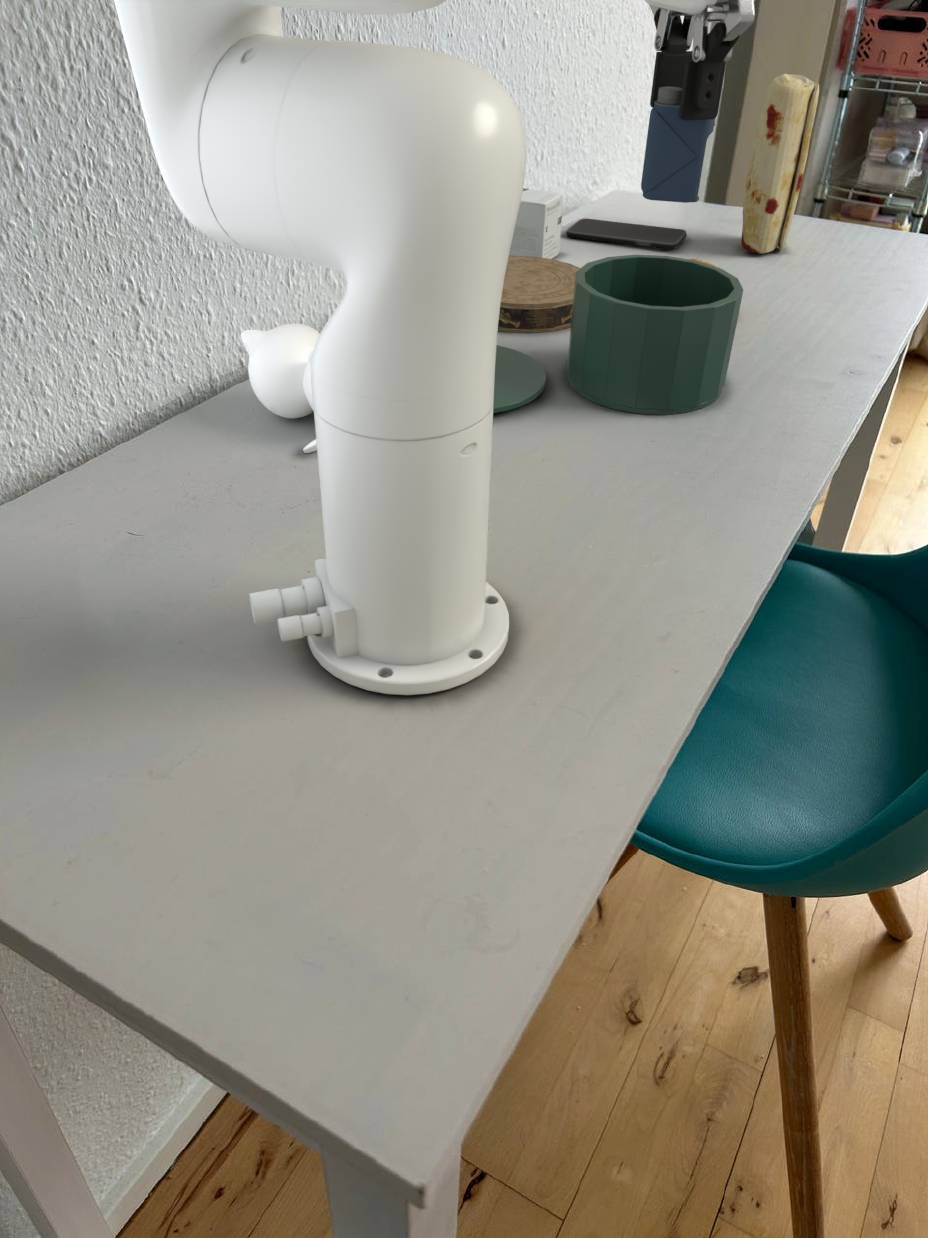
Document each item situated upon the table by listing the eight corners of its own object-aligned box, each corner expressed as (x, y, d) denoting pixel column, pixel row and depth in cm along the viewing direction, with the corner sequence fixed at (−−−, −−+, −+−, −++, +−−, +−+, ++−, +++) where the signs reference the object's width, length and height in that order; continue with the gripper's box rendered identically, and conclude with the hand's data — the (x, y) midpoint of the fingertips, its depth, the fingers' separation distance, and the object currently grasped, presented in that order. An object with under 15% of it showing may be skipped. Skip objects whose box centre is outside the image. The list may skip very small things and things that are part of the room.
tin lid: (404, 431, 81) (403, 356, 77) (360, 361, 93) (357, 292, 89) (572, 408, 86) (579, 336, 81) (509, 344, 97) (513, 278, 93)
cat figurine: (379, 323, 75) (259, 290, 80) (316, 432, 73) (194, 392, 77) (409, 388, 83) (298, 355, 87) (353, 489, 81) (241, 450, 85)
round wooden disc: (555, 343, 97) (557, 314, 96) (422, 313, 103) (421, 285, 102) (613, 297, 109) (617, 271, 107) (490, 273, 114) (491, 247, 113)
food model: (739, 235, 129) (772, 66, 117) (790, 242, 127) (828, 70, 115) (728, 256, 122) (761, 78, 109) (782, 263, 120) (822, 82, 107)
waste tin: (607, 423, 83) (620, 316, 77) (543, 359, 94) (550, 261, 88) (752, 403, 87) (775, 300, 81) (674, 344, 98) (689, 249, 92)
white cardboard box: (541, 267, 116) (546, 204, 112) (496, 260, 118) (499, 197, 114) (559, 254, 121) (564, 192, 116) (515, 247, 123) (519, 186, 118)
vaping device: (702, 204, 79) (730, 36, 72) (638, 199, 80) (660, 33, 73) (702, 196, 81) (729, 32, 74) (640, 191, 82) (661, 28, 75)
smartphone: (580, 217, 131) (688, 229, 127) (580, 224, 132) (687, 236, 127) (564, 231, 126) (676, 244, 121) (563, 238, 126) (675, 251, 122)
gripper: (622, -182, 71) (595, 96, 82) (743, -193, 58) (693, 137, 69) (710, -178, 73) (673, 93, 84) (846, -188, 60) (781, 132, 71)
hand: (682, 110), depth 77 cm, fingers closed on vaping device, 4 cm apart
